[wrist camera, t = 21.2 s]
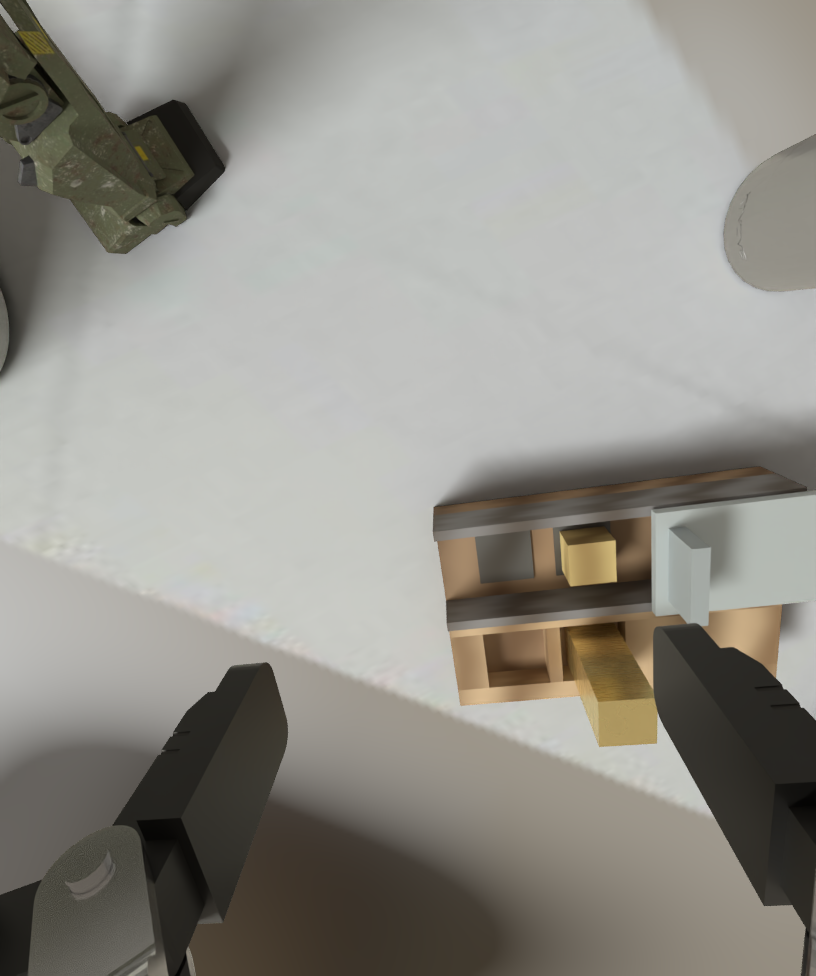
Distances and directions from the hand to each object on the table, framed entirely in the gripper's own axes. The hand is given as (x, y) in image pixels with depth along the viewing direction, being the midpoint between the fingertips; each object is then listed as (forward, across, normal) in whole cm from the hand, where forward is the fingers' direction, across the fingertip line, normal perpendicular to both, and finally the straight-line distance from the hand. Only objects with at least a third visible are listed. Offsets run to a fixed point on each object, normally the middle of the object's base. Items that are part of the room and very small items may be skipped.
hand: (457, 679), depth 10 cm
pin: (+30, -10, +22) cm, 38 cm away
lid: (+26, -20, +12) cm, 36 cm away
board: (+32, -12, +17) cm, 38 cm away
